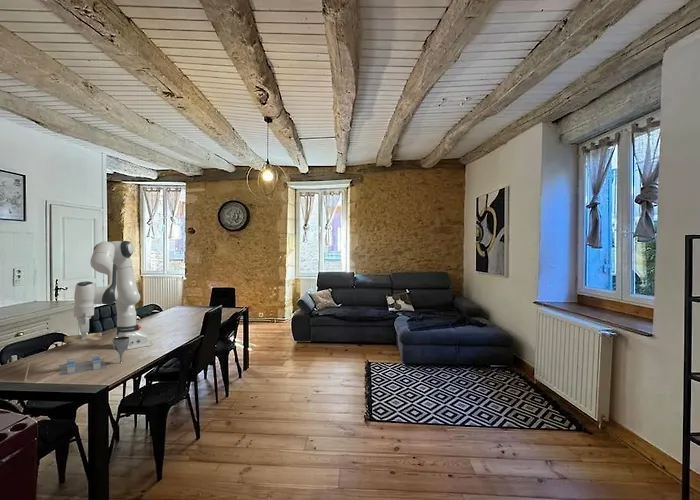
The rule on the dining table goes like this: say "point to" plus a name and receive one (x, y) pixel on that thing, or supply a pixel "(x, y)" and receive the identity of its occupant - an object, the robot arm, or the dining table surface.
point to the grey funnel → (120, 345)
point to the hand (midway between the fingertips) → (83, 338)
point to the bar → (79, 337)
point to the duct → (82, 365)
